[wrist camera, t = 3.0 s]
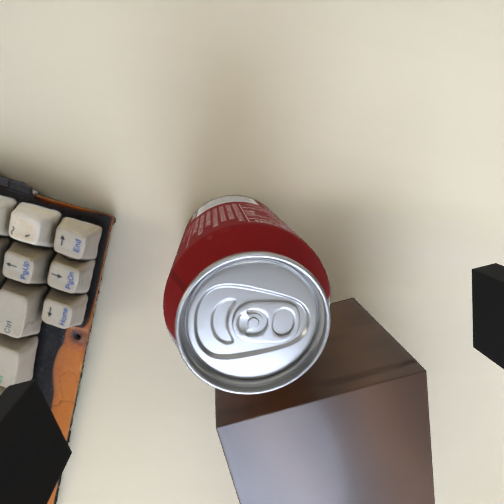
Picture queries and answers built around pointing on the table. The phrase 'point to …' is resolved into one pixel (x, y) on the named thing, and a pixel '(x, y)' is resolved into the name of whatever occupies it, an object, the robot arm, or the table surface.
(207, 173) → the table surface
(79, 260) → the mechanical keyboard
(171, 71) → the table surface
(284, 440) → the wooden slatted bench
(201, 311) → the soda can
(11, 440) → the robot arm
